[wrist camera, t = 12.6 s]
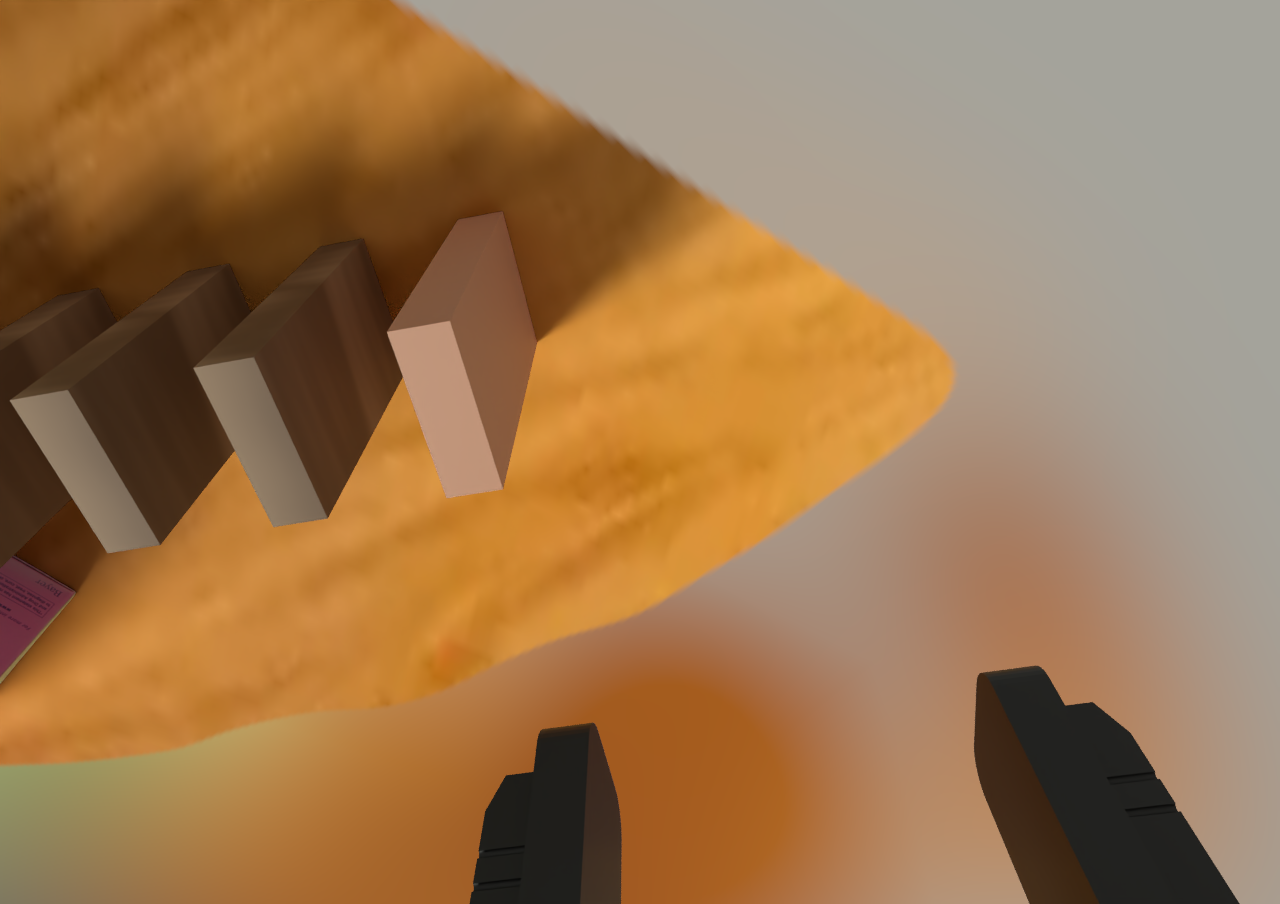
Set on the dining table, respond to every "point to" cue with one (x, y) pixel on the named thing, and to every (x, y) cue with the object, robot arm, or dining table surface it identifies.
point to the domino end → (468, 354)
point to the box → (26, 609)
